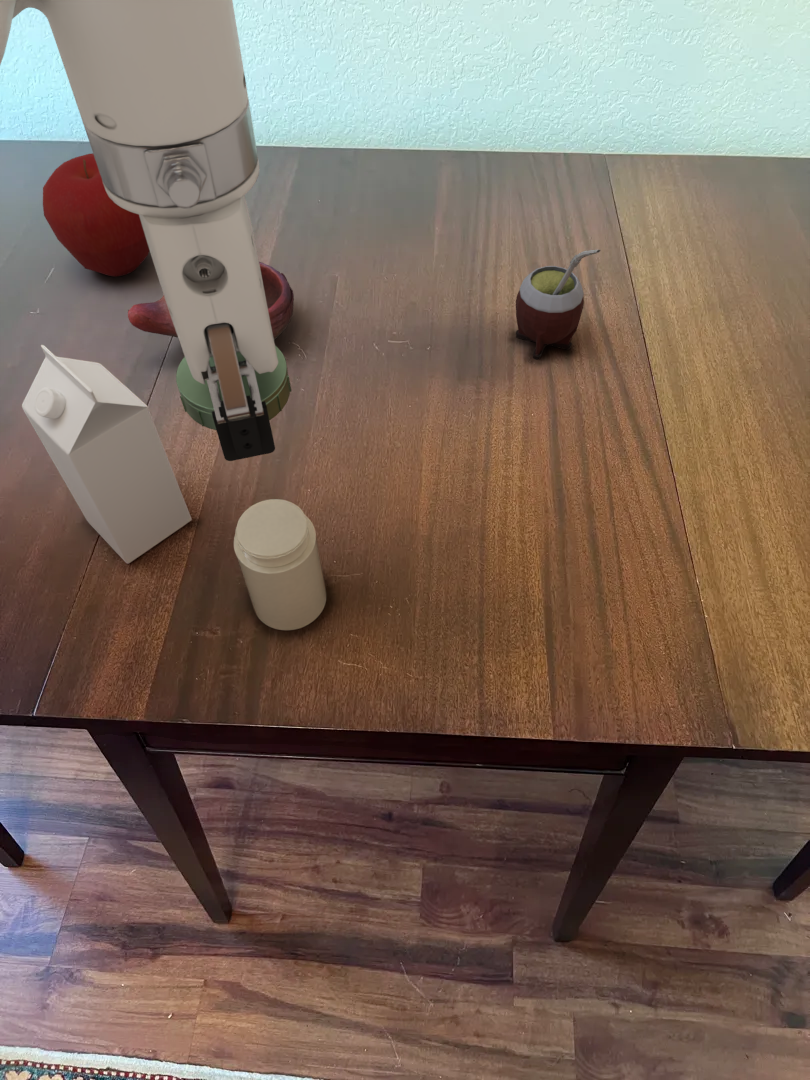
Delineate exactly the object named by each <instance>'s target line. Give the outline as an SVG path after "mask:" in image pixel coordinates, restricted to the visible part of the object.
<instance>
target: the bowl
mask: <svg viewBox="0 0 810 1080" xmlns="http://www.w3.org/2000/svg"><path fill="white" fill-rule="evenodd" d="M259 264H260V270H261V275H262V281H263V286H264V291H265V297H266V302H267V307H268V313H269V318H270V323H271V328H272V333H273V338H274V340H276V339H277V338H278V337H279V336H280V335H281V334H282V333H283V332H284V331H285V330H286V328H287V327H288V325H290V321H291V319H292V316H293V313H294V305H295V304H294V303H295V301H294V300H295V296H294V289H293V288H292V287H291V285H290V283H289V281H288V279H287V277H286V276H285V274H284V273H283V272H280V271H279V270H278V269H276V268H274V267H273V266H272V265H269V264H266V263H264V262H262V261H259ZM127 318H128V321H129V323H131V325H132V326H133V327H135V328H136V329H138V330H140V331H142V332H145V333H152V334H157V335H163V336H169V337H172V338H178V336H177V333H176V330H175V327H174V324H173V321H172V318H171V315H170V312H169V309H168V306H167V303H166V300H165V297H164V294H162V297H161V298H160V299H158V300H156V301H152V302H151V301H150V302H142V303H137V304H136V303H135V304H133V305H132V306H131V307H130V308H129V309H127Z"/></svg>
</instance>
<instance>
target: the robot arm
mask: <svg viewBox="0 0 810 1080" xmlns="http://www.w3.org/2000/svg"><path fill="white" fill-rule="evenodd" d="M26 9H35V10H37V11H39V12H41V13H42V14H43V15H44V16H45V17H46V19H47V21H48V24H49V27H50V31H51V32H52V35H53V38H54V41H55V44H56V47H57V50H58V54H59V56H60V59H61V62H62V65H63V68H64V71H65V74H66V77H67V80H68V83H69V85H70V89H71V91H72V94H73V97H74V100H75V103H76V107H77V110H78V112H79V115H80V119H81V121H82V124H83V128H84V130H85V134H86V136H87V139H88V143H89V145H90V148H91V151H92V153H93V154H94V157H95V160H96V163H97V166H98V169H99V172H100V175H101V178H102V182H103V184H104V187H105V190H106V192H107V194H108V196H109V198H110V199H111V200H112V201H113V202H114V203H115V204H117V205H118V206H120V207H121V208H123V209H125V210H128V211H130V212H133V213H136V214H139V217H140V220H141V223H142V227H143V230H144V233H145V237H146V240H147V243H148V247H149V250H150V251H149V254H150V257H151V259H152V263H153V265H154V269H155V273H156V275H157V279H158V281H159V284H160V288H161V291H162V295H164V297H165V300H166V303H167V306H168V309H169V312H170V315H171V318H172V321H173V324H174V327H175V330H176V333H177V336H178V337H177V339H178V342H179V344H180V347H181V350H182V353H183V355H184V357H185V358H186V361H187V364H188V366H189V369H190V371H191V374H192V376H193V378H194V379H195V380H196V381H198V382H200V383H202V384H205V380H207V384H208V388H209V392H210V396H211V400H212V403H213V407H214V411H212V416H213V420H214V424H215V427H216V430H215V431H216V434H217V437H218V441H219V444H220V447H221V450H222V455H223V458H224V460H225V461H227V462H234V461H239V460H243V459H249V458H253V457H258V456H263V455H269V454H272V453H274V452H275V451H276V445H275V441H274V436H273V431H272V425H271V420H269V416H268V411H267V406H266V402H265V401H263V402H261V398H260V393H259V389H258V384H257V380H256V375H255V370H256V371H257V372H258V373H259V374H262V373H266V372H273V371H274V370H275V368H276V367H277V365H278V358H277V353H276V348H275V346H276V342H275V339H274V338H273V333H272V328H271V323H270V318H269V313H268V307H267V302H266V297H265V291H264V286H263V281H262V275H261V270H260V264H259V262H260V260H259V255H258V250H257V244H256V239H255V235H254V230H253V225H252V221H251V216H250V212H249V208H248V204H247V199H246V194H248V193H249V192H250V190H252V189H253V187H254V185H255V184H256V182H257V180H258V178H259V177H260V168H261V167H260V161H259V156H258V149H257V142H256V137H255V131H254V124H253V117H252V112H251V106H250V100H249V99H250V98H249V94H248V88H247V82H246V76H245V70H244V63H243V56H242V51H241V45H240V39H239V32H238V27H237V20H236V15H235V7H234V2H233V0H0V66H1V64H2V61H3V58H4V56H5V53H6V49H7V44H8V41H9V36H10V34H11V33H10V32H11V30H12V29H11V28H12V24H13V23H12V22H13V19H15V18H16V17H17V16H18V15H19V14H20V13H22V11H24V10H26ZM237 352H240V353H241V354H242V355H243V356H244V358H245V361H240V362H238V359H237V354H236V353H237ZM210 357H213V358H214V363H215V366H213V367H211V366H210V361H209V358H210ZM242 376H247V380H248V385H249V389H250V394H251V397H250V395H249V396H246V394H245V390H244V385H243V381H242ZM217 381H219V385H220V389H221V393H222V398H223V401H222V399H221V395H220V391H219V387H218V383H217Z"/></svg>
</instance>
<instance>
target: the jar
mask: <svg viewBox="0 0 810 1080" xmlns="http://www.w3.org/2000/svg"><path fill="white" fill-rule="evenodd" d="M316 532H317V531H316V528H315V526H314V524H313V522H312V521H311V519H310V518H309V517H308V516H307V515H306V514H305V512H304V511H303V509H302V508H301V507H299V506H298V505H297V504H295V503H293V502H291V501H289V500H287V499H281V498H280V499H279V498H270V499H264V500H262V501H259V502H257V503H254V504H253V505H251V506H249V507H248V508H246V510H245V511H243V513H242V514H241V516H239V518H238V521H237V525H236V527H235V532H234V533H235V534H234V537H233V550H234V554H235V557H236V560H237V562H238V565H239V569H240V571H241V574H242V578H243V580H244V583H245V586H246V590H247V593H248V596H249V599H250V602H251V605H252V608H253V611H254V613H255V615H256V616H257V618H258V619H259V620H260V621H261V623H263V624H264V625H266V626H268V627H269V628H271V629H274V630H279V631H295V630H298V629H299V630H300V629H302V628H304V627H307V626H308V625H310V624H312V623H313V622H314V621H315V620H316V619H317V618H318V617H319V616H320V615H321V613H322V612H323V610H324V608H325V606H326V602H327V590H326V589H327V588H326V583H325V578H324V573H323V566H322V561H321V556H320V554H321V553H320V549H319V544H318V538H317V533H316Z"/></svg>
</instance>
